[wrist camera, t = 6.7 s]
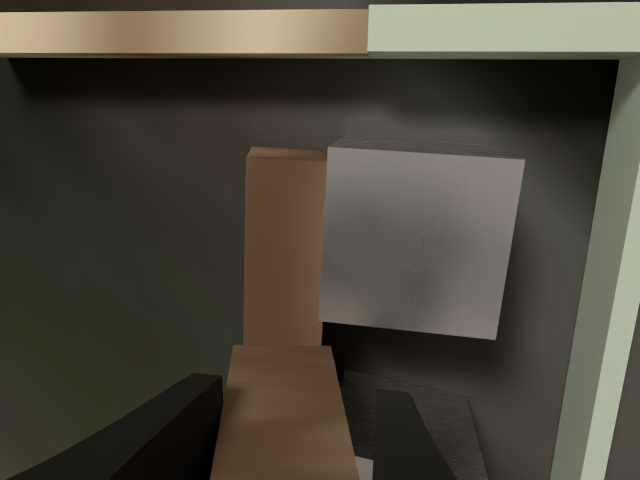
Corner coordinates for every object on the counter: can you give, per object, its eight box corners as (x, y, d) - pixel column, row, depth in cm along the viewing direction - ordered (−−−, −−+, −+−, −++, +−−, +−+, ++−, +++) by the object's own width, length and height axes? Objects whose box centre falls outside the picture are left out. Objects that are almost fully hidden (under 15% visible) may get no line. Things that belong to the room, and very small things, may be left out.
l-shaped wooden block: (329, 149, 14) (408, 227, 6) (309, 488, 18) (341, 860, 9) (243, 145, 14) (191, 220, 6) (239, 489, 17) (202, 873, 9)
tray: (652, 17, 12) (700, 1, 10) (556, 554, 17) (577, 612, 15) (372, 19, 13) (369, 5, 11) (352, 529, 18) (347, 580, 16)
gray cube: (466, 397, 16) (491, 490, 12) (435, 496, 17) (449, 610, 13) (345, 368, 16) (331, 449, 12) (322, 467, 17) (303, 569, 13)
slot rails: (372, 19, 13) (369, 9, 12) (352, 529, 18) (348, 566, 16) (1, 21, 15) (-42, 12, 13) (70, 494, 19) (44, 525, 18)
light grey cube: (487, 144, 14) (524, 159, 10) (468, 278, 15) (495, 339, 11) (344, 135, 14) (328, 146, 10) (336, 266, 15) (318, 321, 11)
